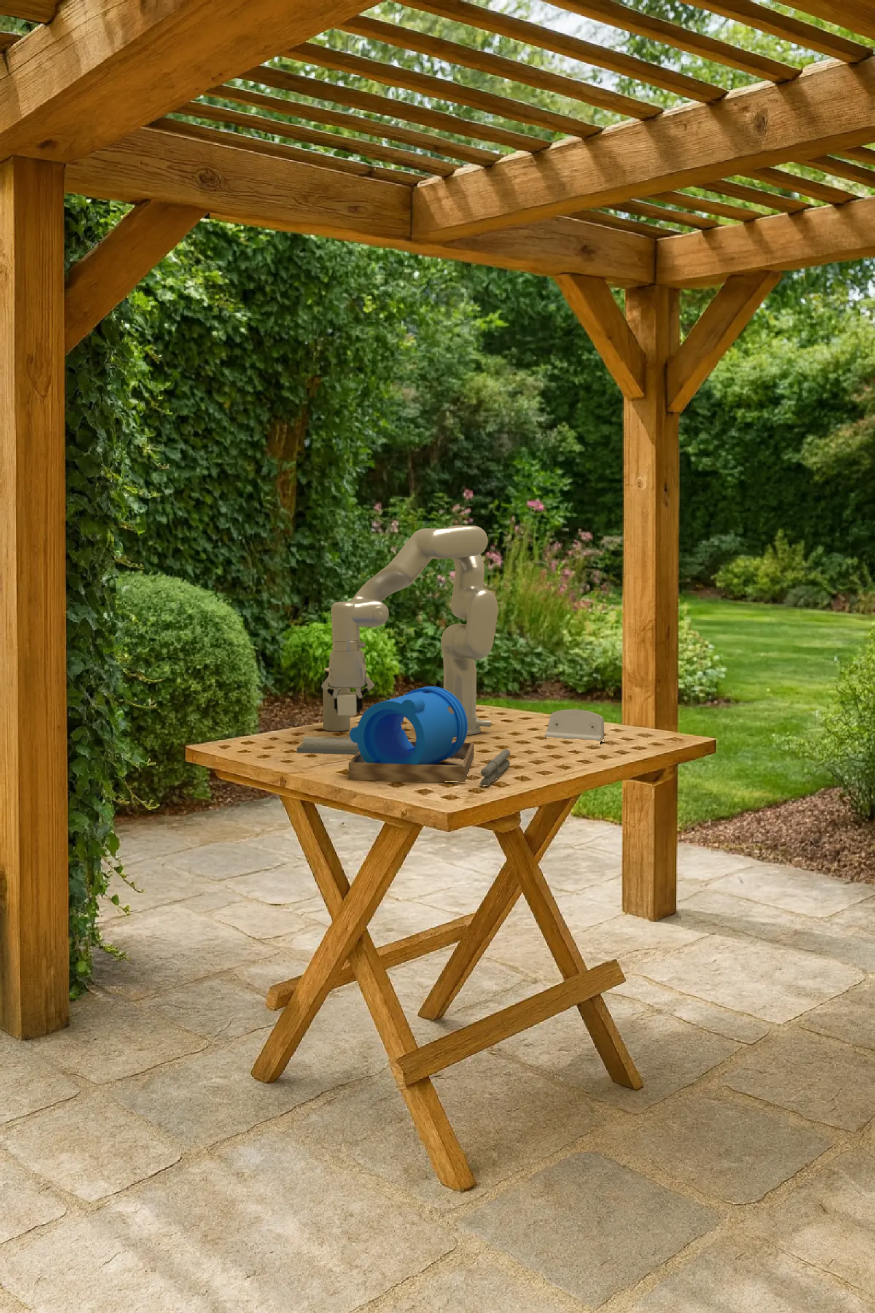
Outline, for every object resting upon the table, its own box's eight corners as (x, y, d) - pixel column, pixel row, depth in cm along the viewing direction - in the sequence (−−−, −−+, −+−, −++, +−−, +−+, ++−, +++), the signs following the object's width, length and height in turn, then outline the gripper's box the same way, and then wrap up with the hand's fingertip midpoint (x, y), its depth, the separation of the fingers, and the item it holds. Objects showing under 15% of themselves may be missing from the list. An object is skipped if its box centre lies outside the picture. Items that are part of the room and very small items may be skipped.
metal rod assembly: (500, 767, 304) (500, 747, 303) (511, 768, 303) (511, 748, 303) (478, 788, 279) (478, 767, 279) (490, 789, 278) (490, 768, 278)
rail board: (384, 748, 327) (384, 736, 326) (379, 754, 317) (379, 742, 317) (304, 745, 329) (304, 734, 328) (296, 752, 319) (296, 740, 319)
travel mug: (355, 729, 357) (355, 668, 355) (340, 732, 350) (340, 671, 348) (332, 726, 361) (333, 666, 359) (317, 730, 354) (317, 669, 352)
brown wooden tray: (473, 757, 314) (473, 742, 314) (465, 783, 283) (465, 766, 283) (368, 754, 317) (368, 739, 317) (348, 779, 286) (348, 763, 285)
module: (359, 711, 337) (358, 691, 337) (355, 715, 331) (355, 695, 330) (341, 711, 338) (341, 692, 337) (337, 715, 332) (337, 695, 331)
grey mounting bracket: (543, 740, 342) (547, 705, 344) (547, 743, 346) (551, 709, 348) (600, 745, 335) (604, 709, 338) (604, 748, 340) (608, 713, 342)
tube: (441, 780, 309) (383, 736, 315) (483, 710, 303) (423, 667, 309) (399, 799, 287) (338, 752, 292) (444, 724, 280) (380, 677, 286)
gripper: (379, 644, 335) (381, 709, 337) (318, 645, 337) (321, 709, 339) (375, 648, 328) (377, 714, 330) (313, 648, 329) (315, 714, 332)
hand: (348, 711), depth 334 cm, fingers closed on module, 5 cm apart
